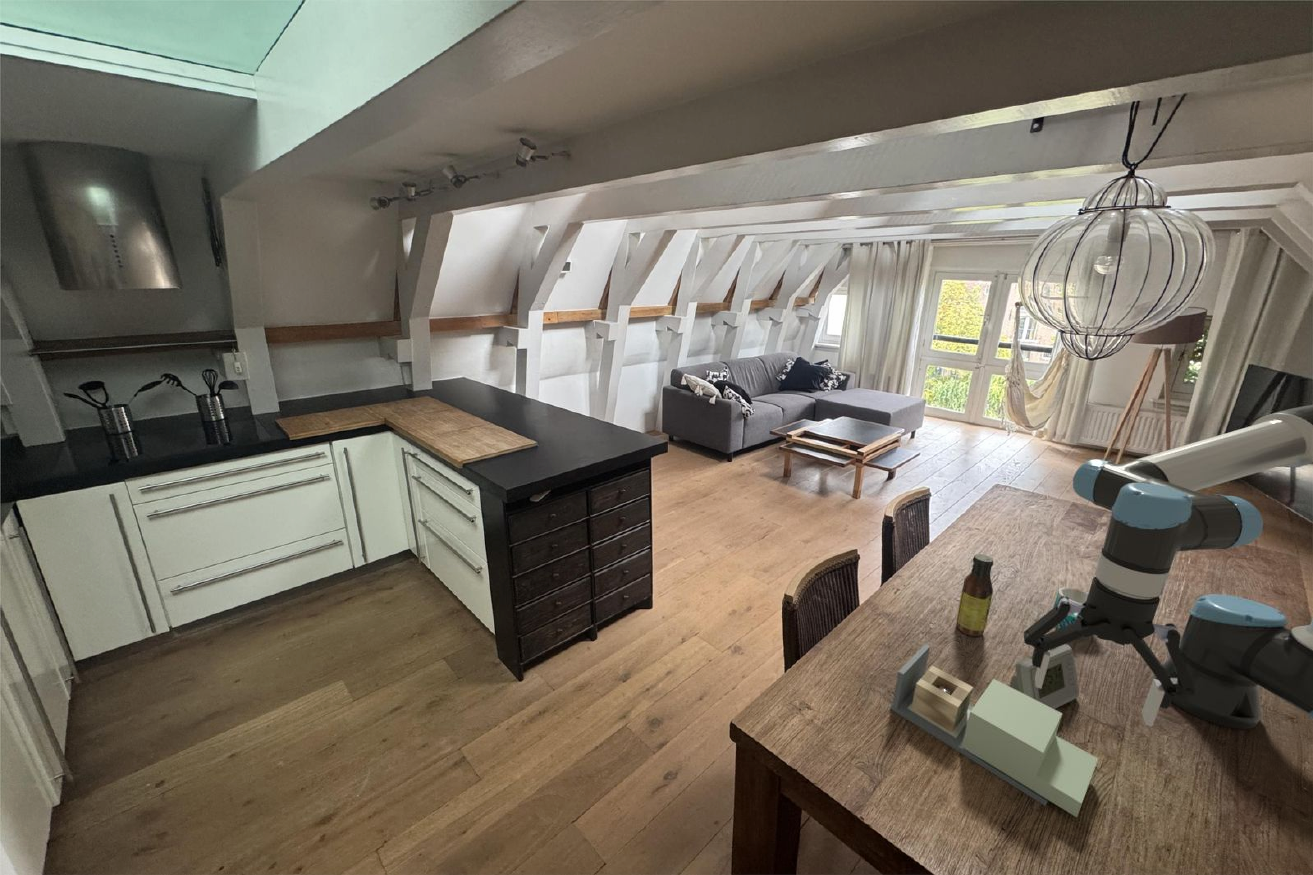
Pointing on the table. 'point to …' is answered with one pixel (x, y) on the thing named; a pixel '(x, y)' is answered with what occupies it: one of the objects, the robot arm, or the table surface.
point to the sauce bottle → (976, 597)
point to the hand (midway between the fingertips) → (1090, 700)
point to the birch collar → (942, 698)
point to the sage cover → (1028, 745)
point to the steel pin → (945, 689)
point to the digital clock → (1049, 678)
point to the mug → (1073, 596)
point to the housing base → (954, 739)
